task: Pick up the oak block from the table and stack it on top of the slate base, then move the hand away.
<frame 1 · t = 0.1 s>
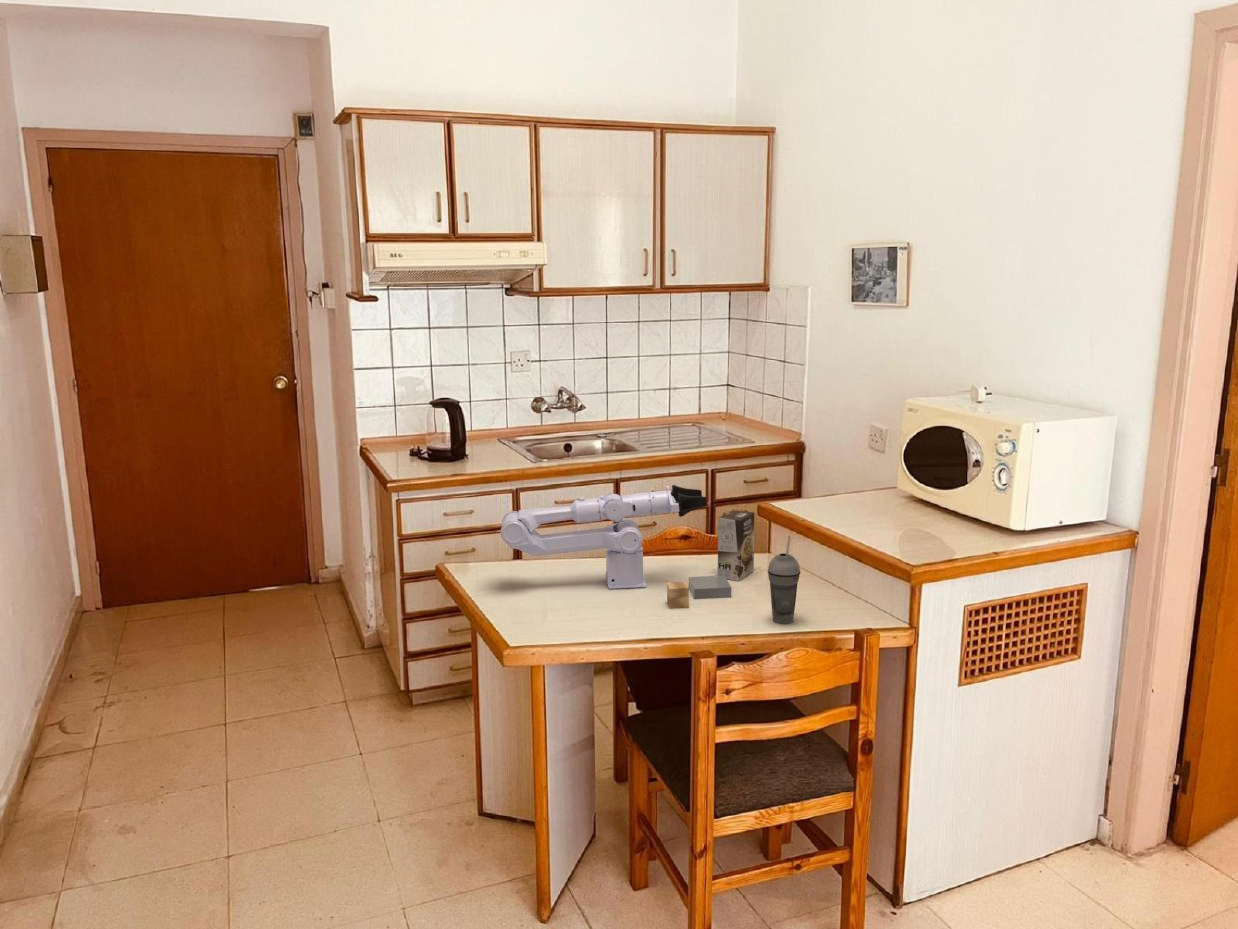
hand: (704, 497, 242), 22 cm above the table, tool horizontal, fingers open, 7 cm apart
beverage cup: (783, 621, 218), on the table
oak block: (677, 605, 229), on the table
slate base: (709, 591, 238), on the table
coffee box: (735, 575, 250), on the table
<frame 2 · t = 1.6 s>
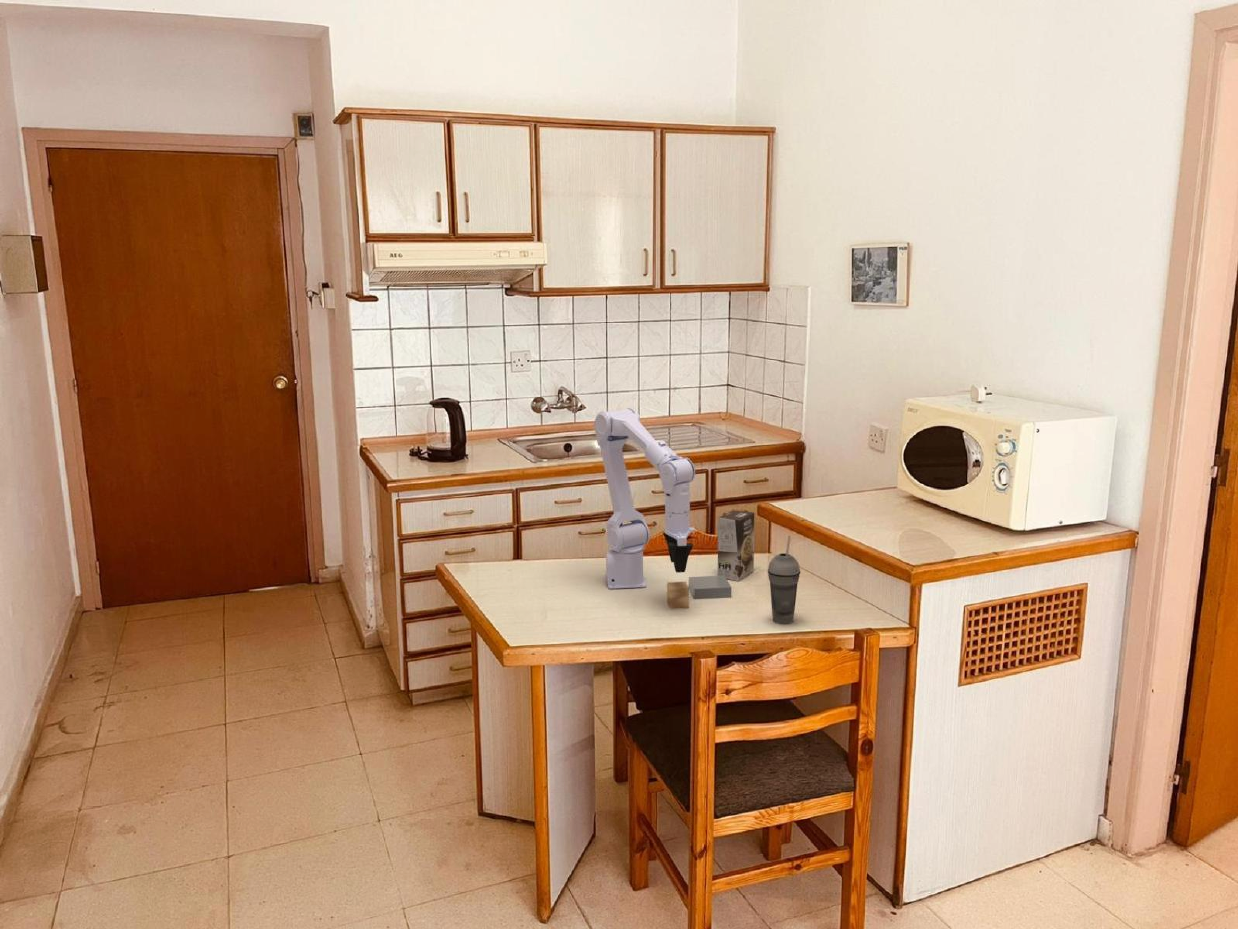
hand: (677, 566, 227), 9 cm above the table, tool pointing down, fingers open, 7 cm apart
nothing on the table moved.
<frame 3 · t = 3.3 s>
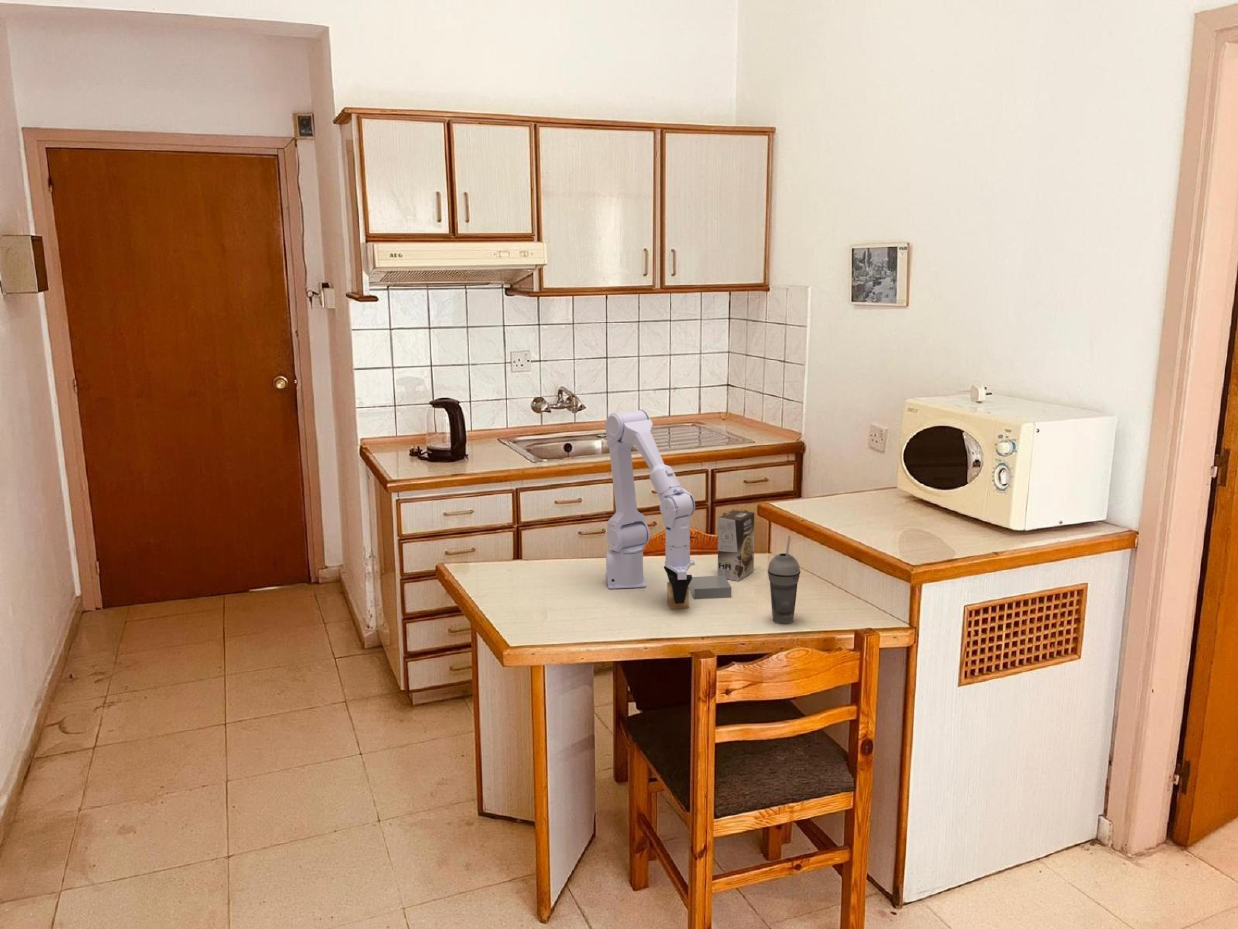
hand: (677, 599, 229), 1 cm above the table, tool pointing down, fingers closed on oak block, 4 cm apart
oak block: (678, 605, 229), on the table, touching gripper
everything else where it was.
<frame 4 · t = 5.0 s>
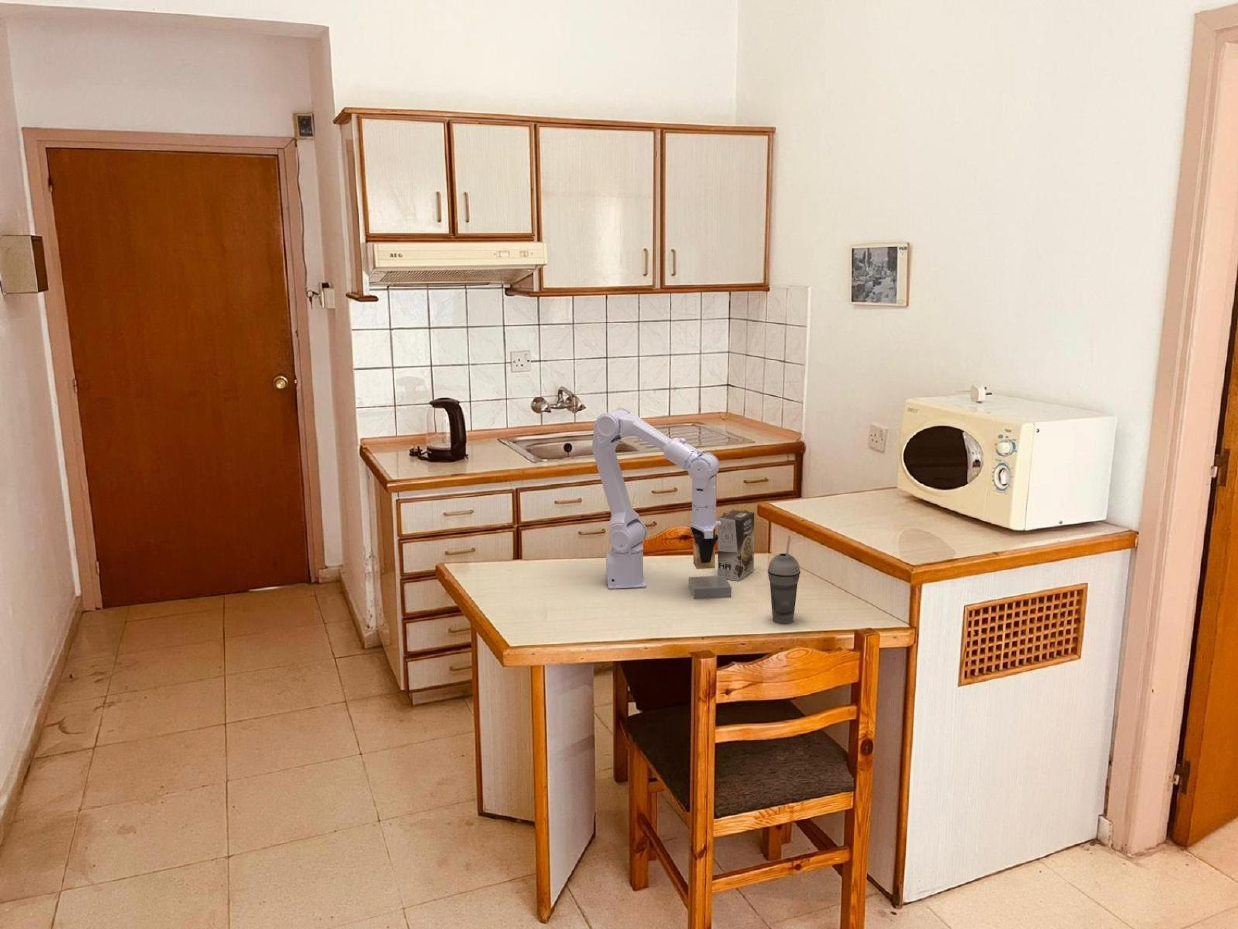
hand: (704, 559, 234), 9 cm above the table, tool pointing down, fingers closed on oak block, 4 cm apart
oak block: (704, 565, 235), point 7 cm above the table, touching gripper
everything else where it was.
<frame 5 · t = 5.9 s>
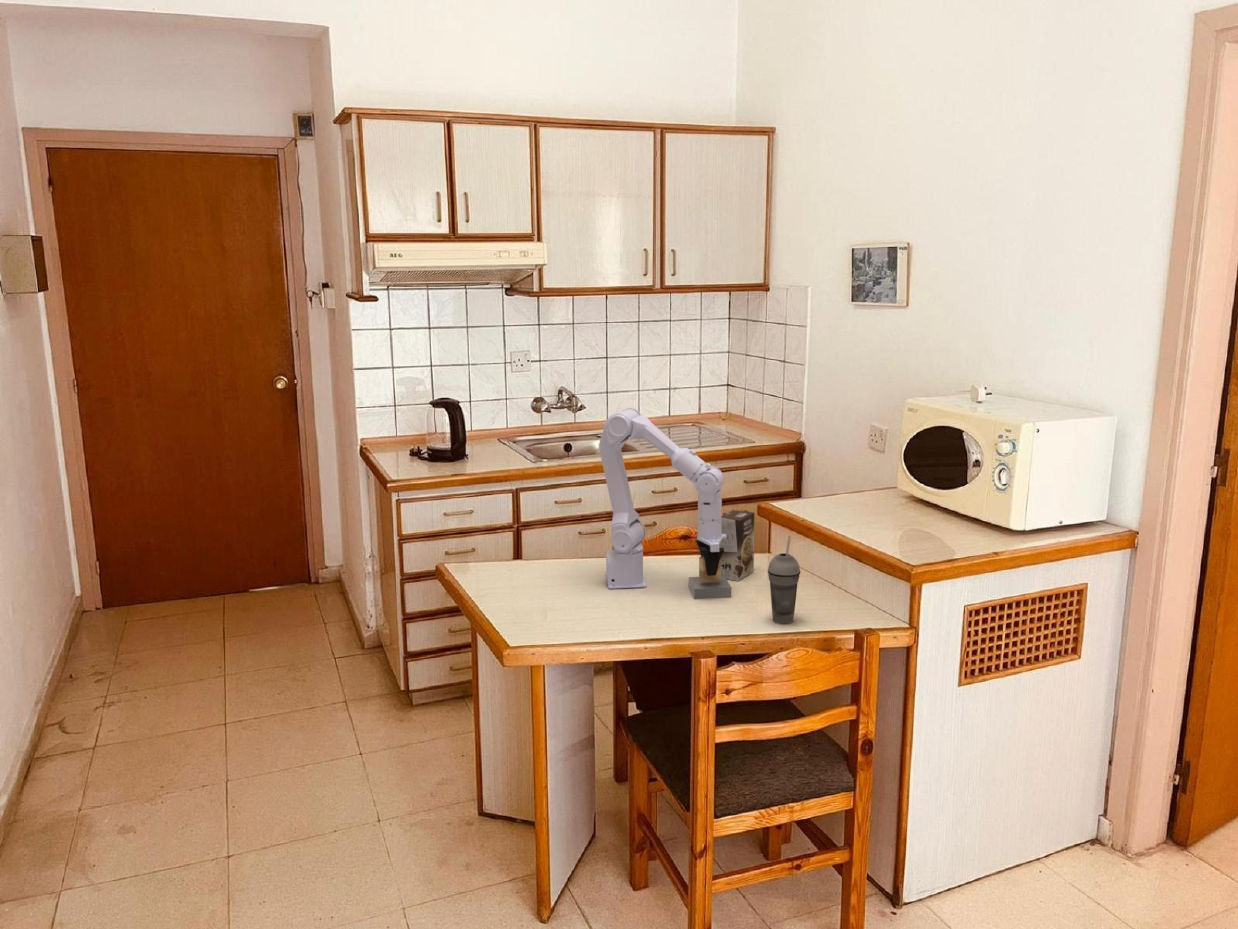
hand: (709, 571, 237), 5 cm above the table, tool pointing down, fingers closed on oak block, 4 cm apart
oak block: (709, 578, 237), point 3 cm above the table, touching gripper
everything else where it was.
when the fingers open (5 cm above the table, at t = 6.8 s): oak block stays where it is, resting on slate base.
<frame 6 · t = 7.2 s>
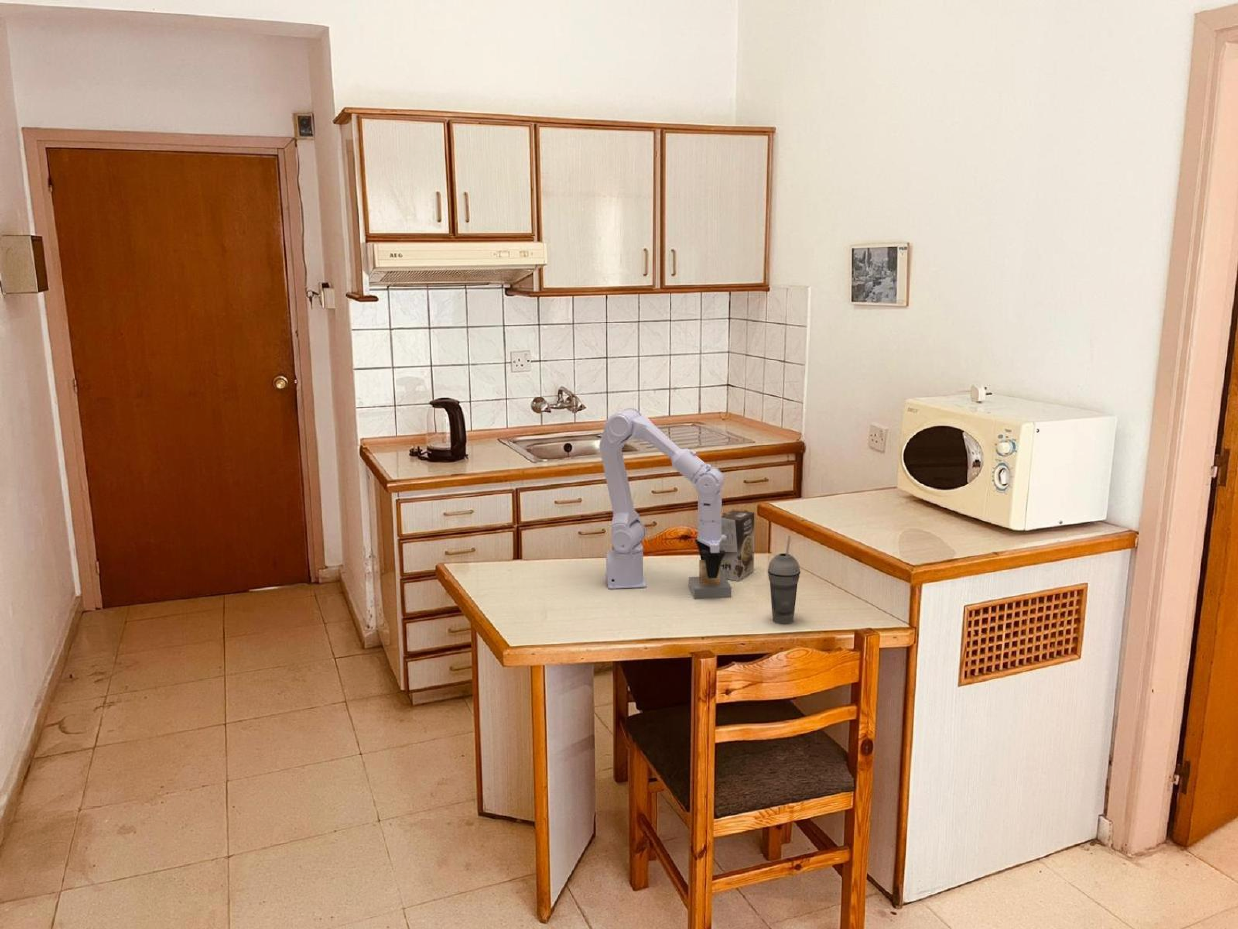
hand: (709, 572, 237), 5 cm above the table, tool pointing down, fingers open, 7 cm apart
oak block: (709, 582, 237), point 2 cm above the table, touching slate base
everything else where it was.
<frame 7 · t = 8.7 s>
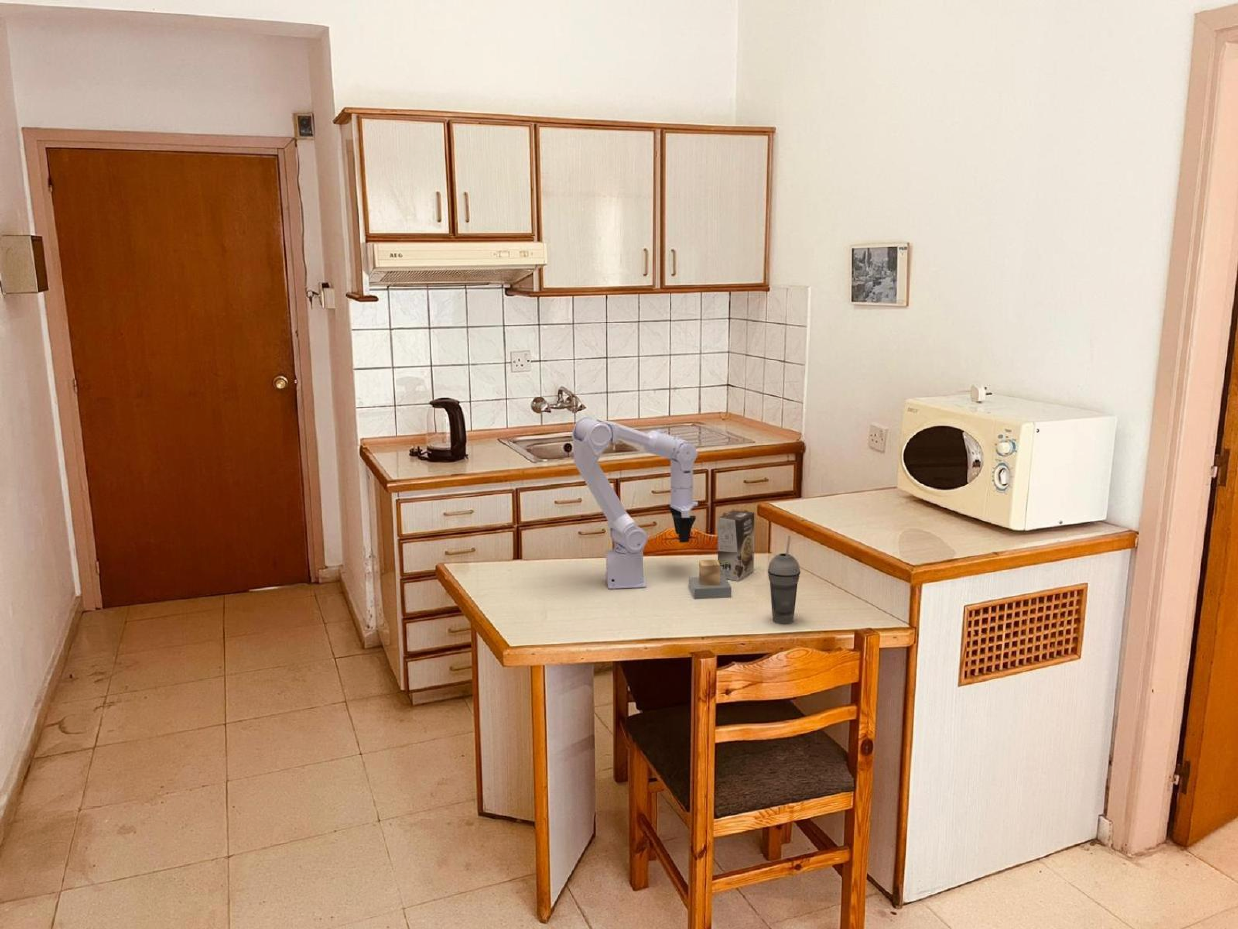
hand: (682, 537, 249), 10 cm above the table, tool pointing down, fingers open, 7 cm apart
nothing on the table moved.
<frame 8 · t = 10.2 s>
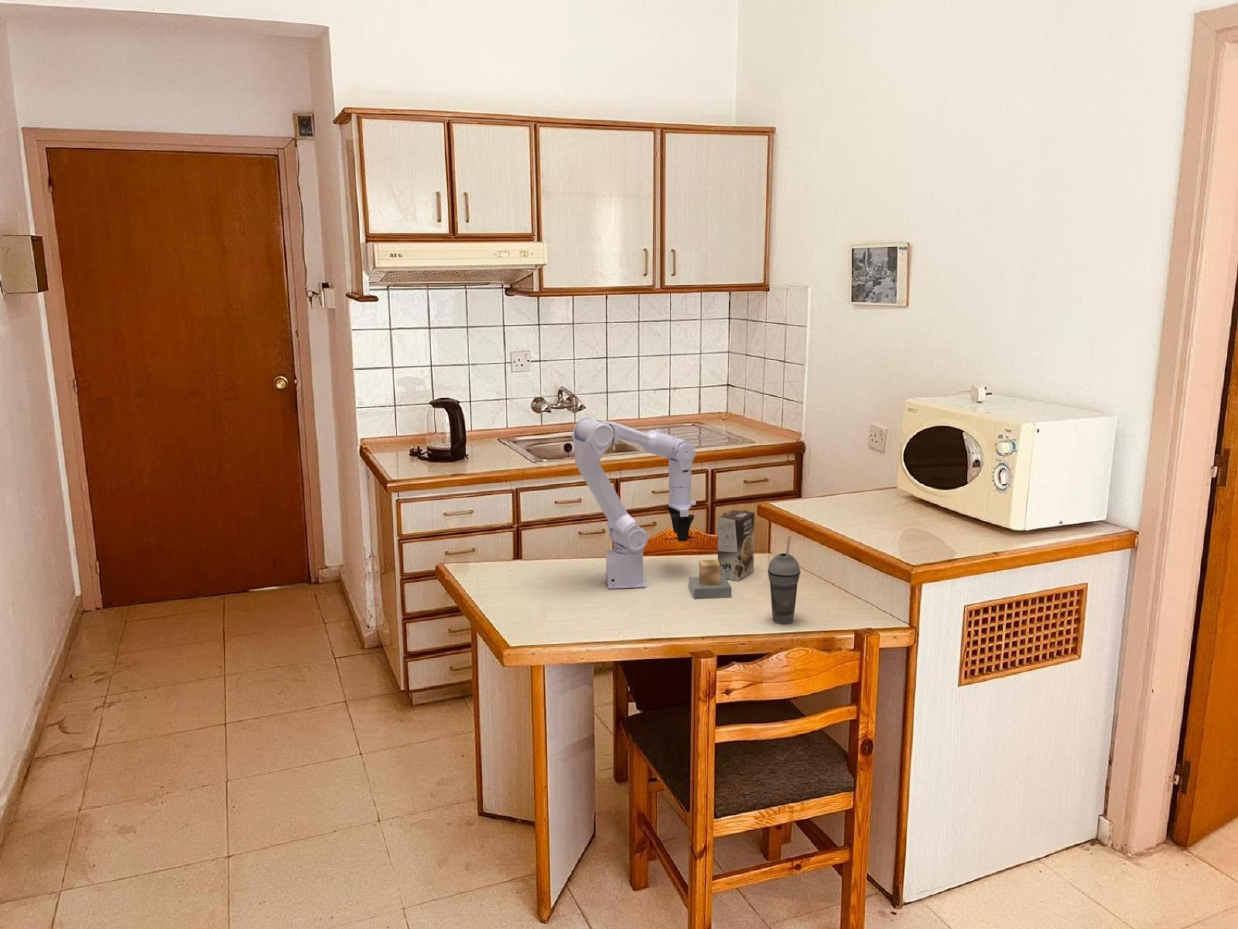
hand: (680, 536, 250), 10 cm above the table, tool pointing down, fingers open, 7 cm apart
nothing on the table moved.
at the end: oak block 0.0 cm off-centre on the slate base, point 2.5 cm above the slate base's base; oak block tilted 0°; the gripper is holding nothing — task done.
